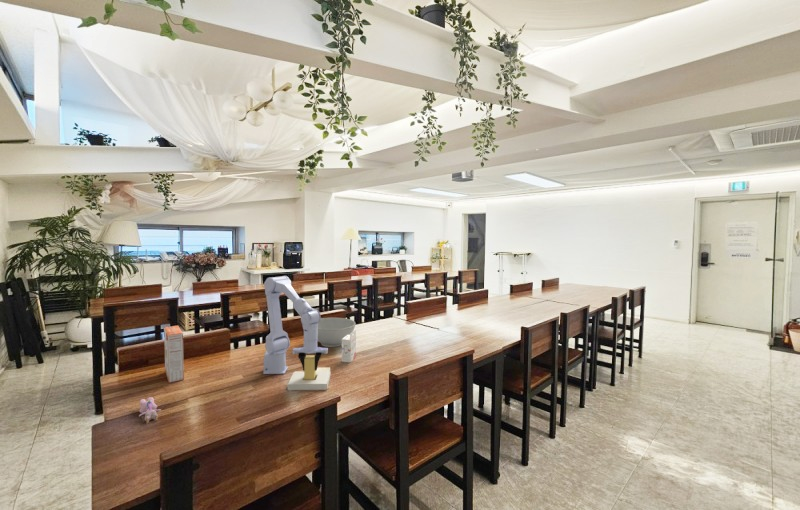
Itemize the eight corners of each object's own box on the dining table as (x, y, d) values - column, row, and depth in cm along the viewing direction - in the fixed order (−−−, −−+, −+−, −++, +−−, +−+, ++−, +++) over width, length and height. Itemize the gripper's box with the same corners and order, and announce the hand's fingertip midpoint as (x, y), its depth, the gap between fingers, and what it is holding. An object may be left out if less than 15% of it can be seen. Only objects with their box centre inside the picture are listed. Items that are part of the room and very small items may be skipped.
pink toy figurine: (163, 423, 118) (155, 400, 129) (163, 407, 117) (156, 385, 128) (140, 429, 114) (134, 405, 125) (140, 413, 113) (134, 390, 124)
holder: (287, 390, 142) (287, 384, 142) (294, 376, 155) (294, 371, 155) (327, 389, 143) (327, 383, 143) (330, 376, 156) (330, 371, 156)
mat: (310, 375, 157) (310, 374, 157) (313, 368, 165) (313, 367, 165) (328, 375, 158) (328, 374, 158) (330, 368, 166) (330, 367, 166)
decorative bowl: (318, 335, 217) (318, 316, 216) (360, 338, 213) (360, 319, 212) (300, 349, 190) (300, 327, 189) (347, 353, 187) (348, 331, 186)
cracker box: (164, 372, 156) (163, 326, 154) (179, 369, 159) (179, 324, 158) (167, 383, 145) (166, 334, 143) (184, 380, 148) (183, 332, 147)
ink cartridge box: (346, 356, 183) (347, 328, 182) (355, 356, 182) (356, 329, 181) (341, 361, 174) (341, 333, 173) (350, 362, 173) (350, 334, 172)
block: (304, 379, 147) (304, 358, 146) (305, 375, 151) (306, 355, 150) (314, 379, 147) (314, 358, 147) (315, 375, 151) (316, 355, 151)
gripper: (291, 341, 143) (290, 373, 144) (326, 341, 145) (326, 373, 146) (294, 336, 150) (294, 366, 151) (328, 336, 152) (328, 366, 153)
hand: (310, 369), depth 149 cm, fingers closed on block, 4 cm apart
